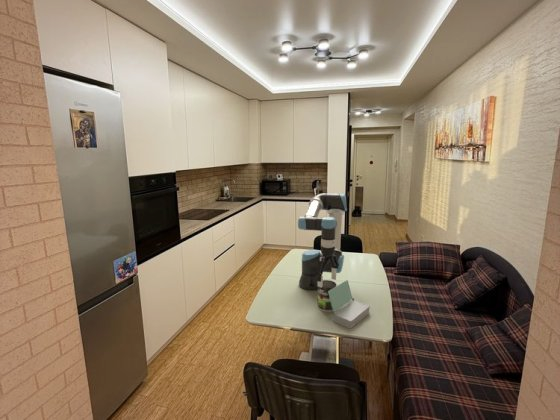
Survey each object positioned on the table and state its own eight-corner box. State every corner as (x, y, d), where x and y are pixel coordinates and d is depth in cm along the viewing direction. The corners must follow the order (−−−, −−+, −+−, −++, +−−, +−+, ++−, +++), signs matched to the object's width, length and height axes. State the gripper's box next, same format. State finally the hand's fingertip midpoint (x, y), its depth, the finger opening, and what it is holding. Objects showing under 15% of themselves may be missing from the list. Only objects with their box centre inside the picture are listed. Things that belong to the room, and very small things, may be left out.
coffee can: (328, 313, 165) (329, 289, 162) (313, 307, 172) (314, 283, 169) (339, 307, 172) (340, 283, 169) (324, 300, 179) (325, 278, 176)
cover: (334, 311, 157) (332, 311, 158) (352, 298, 170) (350, 298, 171) (329, 291, 157) (327, 291, 158) (347, 280, 171) (345, 280, 172)
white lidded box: (332, 321, 157) (332, 312, 156) (352, 306, 173) (352, 298, 172) (350, 329, 150) (350, 320, 149) (369, 312, 166) (370, 304, 165)
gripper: (320, 252, 154) (319, 292, 157) (345, 242, 172) (344, 277, 175) (308, 249, 159) (308, 288, 162) (334, 240, 177) (333, 274, 180)
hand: (327, 282), depth 169 cm, fingers open, 13 cm apart
